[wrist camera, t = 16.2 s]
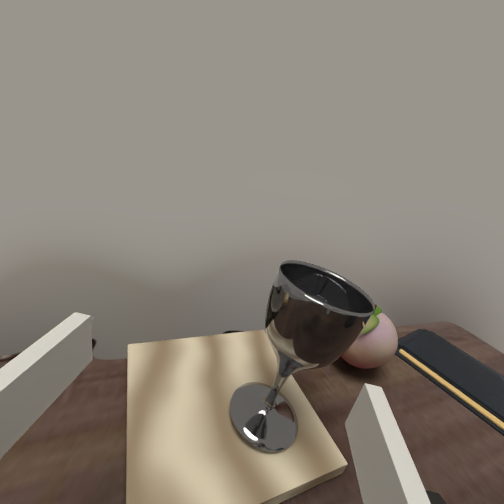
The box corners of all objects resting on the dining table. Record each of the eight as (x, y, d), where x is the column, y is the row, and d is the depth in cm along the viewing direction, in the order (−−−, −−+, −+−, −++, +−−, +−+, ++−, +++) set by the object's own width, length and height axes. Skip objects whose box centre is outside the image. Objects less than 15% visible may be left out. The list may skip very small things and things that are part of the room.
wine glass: (216, 382, 27) (264, 255, 22) (279, 376, 31) (331, 266, 26) (241, 467, 20) (316, 311, 16) (317, 446, 24) (397, 315, 19)
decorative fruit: (382, 400, 33) (418, 339, 29) (319, 370, 35) (345, 309, 31) (378, 354, 41) (406, 302, 37) (328, 332, 43) (349, 281, 40)
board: (260, 337, 38) (263, 329, 38) (342, 473, 24) (347, 463, 23) (127, 354, 30) (127, 344, 30) (124, 575, 16) (125, 564, 15)
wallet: (567, 410, 37) (547, 460, 28) (558, 419, 38) (537, 470, 29) (425, 322, 52) (385, 338, 43) (421, 330, 53) (381, 347, 44)
